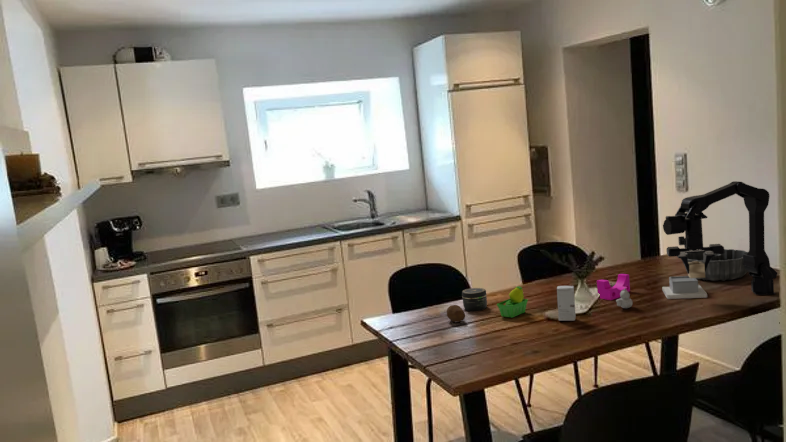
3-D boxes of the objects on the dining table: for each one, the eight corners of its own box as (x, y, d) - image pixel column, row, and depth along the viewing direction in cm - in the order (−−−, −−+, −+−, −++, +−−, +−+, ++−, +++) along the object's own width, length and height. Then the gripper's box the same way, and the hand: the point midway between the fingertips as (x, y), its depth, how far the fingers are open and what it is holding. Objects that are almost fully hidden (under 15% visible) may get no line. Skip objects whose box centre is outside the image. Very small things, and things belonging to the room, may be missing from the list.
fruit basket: (513, 309, 250) (511, 282, 249) (532, 311, 244) (530, 283, 243) (496, 316, 242) (494, 288, 241) (515, 319, 236) (513, 290, 235)
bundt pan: (677, 283, 264) (675, 260, 263) (688, 270, 285) (687, 248, 284) (748, 285, 248) (747, 260, 247) (755, 271, 270) (754, 248, 269)
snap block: (702, 274, 233) (701, 259, 233) (705, 277, 229) (704, 262, 228) (687, 275, 235) (687, 260, 234) (690, 278, 230) (689, 263, 229)
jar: (492, 306, 259) (490, 288, 258) (478, 312, 252) (476, 294, 251) (472, 304, 266) (471, 286, 265) (458, 310, 258) (456, 292, 258)
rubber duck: (636, 308, 233) (635, 287, 233) (621, 311, 232) (620, 290, 231) (627, 305, 239) (625, 284, 238) (612, 308, 237) (611, 287, 236)
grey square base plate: (700, 288, 250) (699, 274, 250) (707, 297, 237) (706, 281, 236) (662, 290, 254) (661, 275, 254) (667, 298, 241) (666, 283, 240)
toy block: (610, 300, 248) (609, 282, 247) (598, 298, 254) (596, 280, 253) (635, 293, 256) (634, 275, 255) (622, 291, 261) (621, 273, 260)
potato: (454, 325, 237) (452, 309, 237) (442, 320, 246) (441, 304, 246) (469, 321, 240) (468, 306, 239) (457, 316, 249) (455, 301, 248)
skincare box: (558, 321, 228) (555, 288, 226) (559, 317, 232) (556, 285, 231) (576, 320, 226) (573, 288, 225) (576, 317, 230) (573, 285, 229)
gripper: (716, 226, 235) (719, 267, 237) (663, 230, 240) (665, 270, 242) (723, 230, 224) (726, 273, 226) (667, 234, 230) (670, 276, 231)
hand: (696, 273), depth 232 cm, fingers closed on snap block, 5 cm apart
